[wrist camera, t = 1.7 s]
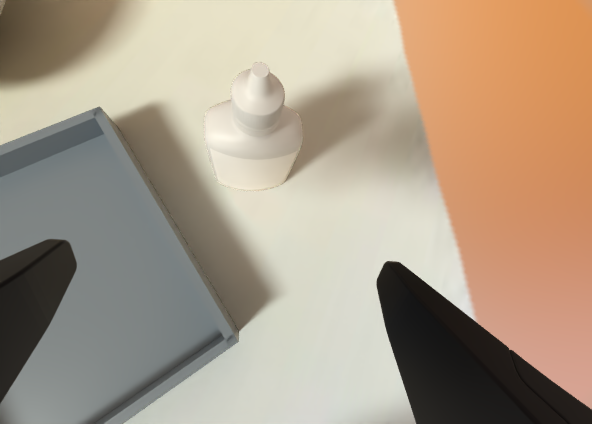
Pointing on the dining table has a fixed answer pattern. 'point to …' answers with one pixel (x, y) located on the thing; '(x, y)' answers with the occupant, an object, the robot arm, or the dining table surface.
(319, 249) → the dining table surface
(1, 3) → the dish
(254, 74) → the eye dropper bottle
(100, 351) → the slate tray
